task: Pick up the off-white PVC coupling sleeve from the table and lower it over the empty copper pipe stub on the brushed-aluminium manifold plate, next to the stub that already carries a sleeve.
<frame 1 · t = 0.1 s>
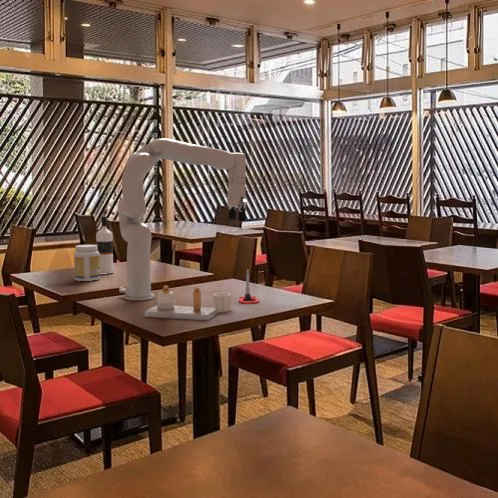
hand: (237, 220, 279), 31 cm above the table, tool pointing down, fingers open, 9 cm apart
sleeve: (222, 309, 240), on the table
supplement tub: (87, 280, 308), on the table
manifold: (181, 314, 232), on the table
grey tall post: (248, 302, 256), on the table
vodka: (105, 273, 329), on the table
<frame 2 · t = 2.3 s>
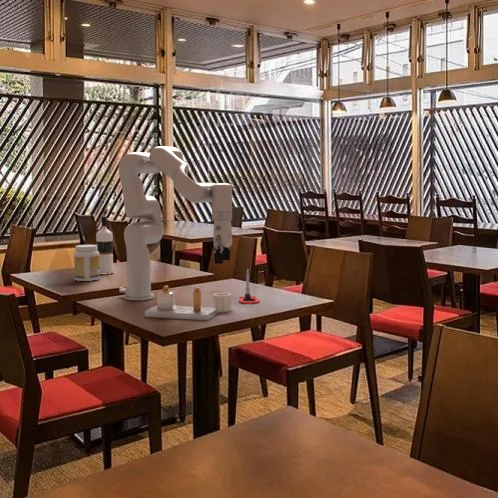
hand: (222, 261, 238), 18 cm above the table, tool pointing down, fingers open, 9 cm apart
nothing on the table moved.
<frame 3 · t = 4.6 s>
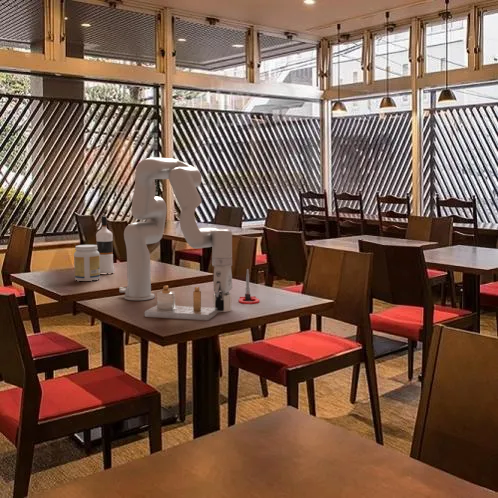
hand: (222, 308, 240), 1 cm above the table, tool pointing down, fingers closed on sleeve, 6 cm apart
sleeve: (222, 309, 240), on the table, touching gripper
everything else where it was.
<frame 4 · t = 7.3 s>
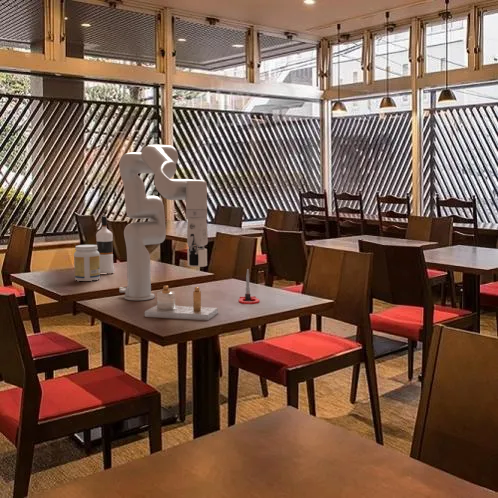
hand: (197, 263, 228), 19 cm above the table, tool pointing down, fingers closed on sleeve, 6 cm apart
sleeve: (197, 265, 228), point 19 cm above the table, touching gripper
everything else where it was.
when the fingers open (4 cm above the table, at t = 10.2 s): sleeve drops 1 cm, resting on manifold.
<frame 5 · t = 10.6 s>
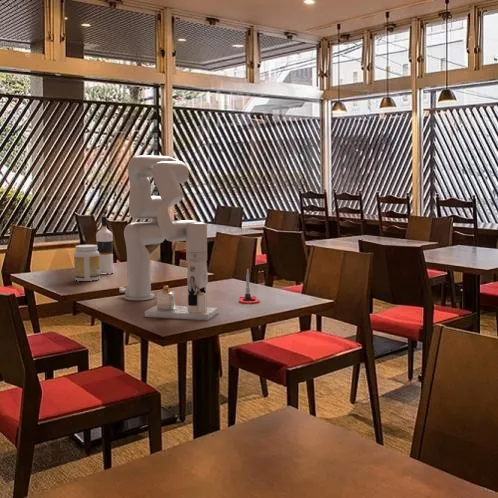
hand: (197, 302, 230), 5 cm above the table, tool pointing down, fingers open, 9 cm apart
sleeve: (197, 310, 230), point 2 cm above the table, touching manifold
everything else where it was.
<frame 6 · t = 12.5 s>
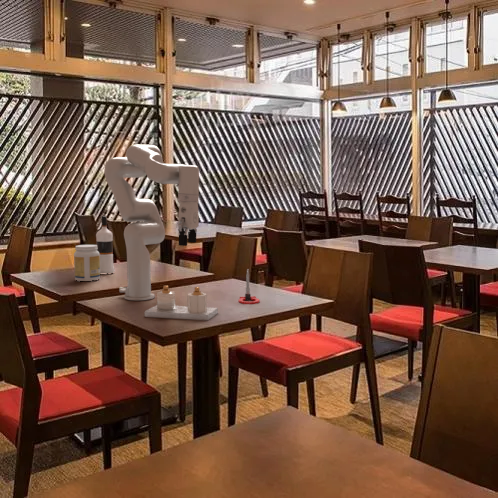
hand: (187, 243, 238), 25 cm above the table, tool pointing down, fingers open, 9 cm apart
nothing on the table moved.
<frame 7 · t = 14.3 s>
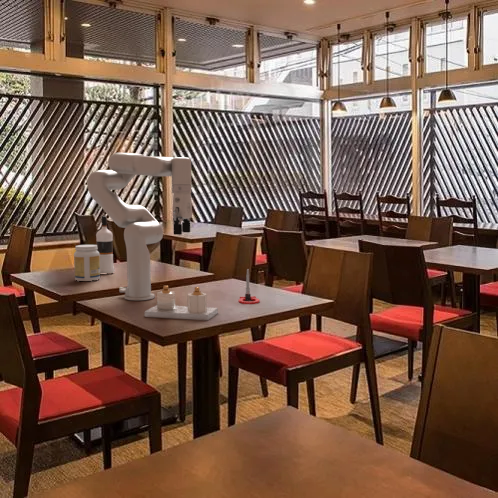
hand: (182, 233, 247), 28 cm above the table, tool pointing down, fingers open, 9 cm apart
nothing on the table moved.
at the end: sleeve 0.1 cm from the target spot on the manifold, point 2.0 cm above the manifold's base; sleeve tilted 0°; the gripper is holding nothing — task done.
